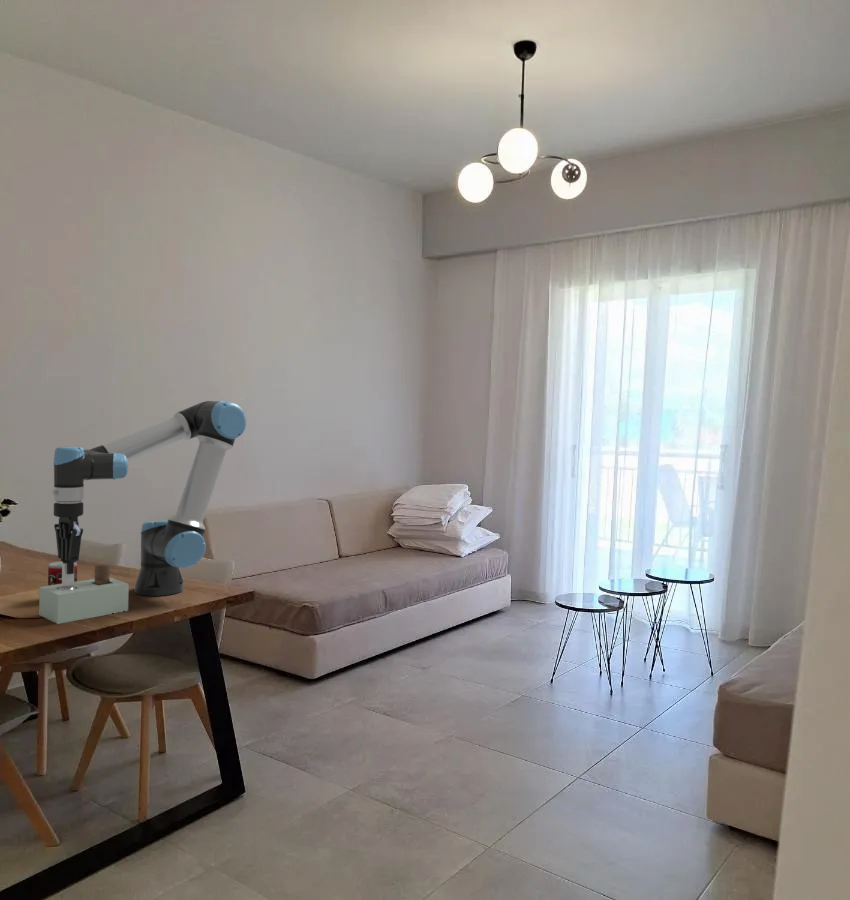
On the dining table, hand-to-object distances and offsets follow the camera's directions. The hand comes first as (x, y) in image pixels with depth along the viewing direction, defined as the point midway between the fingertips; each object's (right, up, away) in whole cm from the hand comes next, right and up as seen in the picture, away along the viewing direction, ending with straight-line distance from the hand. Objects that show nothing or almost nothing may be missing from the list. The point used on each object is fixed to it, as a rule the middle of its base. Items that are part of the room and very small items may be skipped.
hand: (68, 584), depth 206 cm
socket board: (+3, -9, +4) cm, 10 cm away
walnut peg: (+6, -4, +8) cm, 11 cm away
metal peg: (-1, -9, 0) cm, 9 cm away
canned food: (-11, -8, +18) cm, 22 cm away
